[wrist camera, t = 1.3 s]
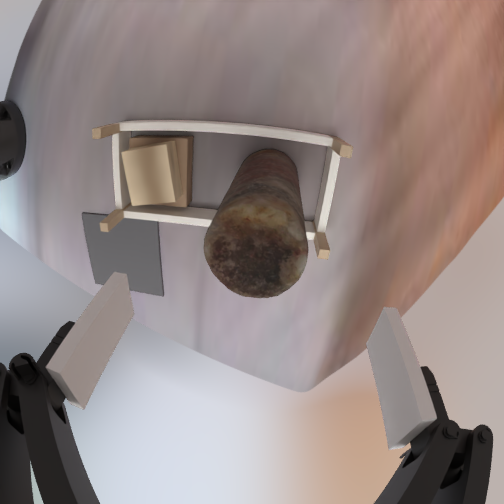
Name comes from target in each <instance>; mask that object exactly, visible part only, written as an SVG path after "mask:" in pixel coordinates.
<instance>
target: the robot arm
mask: <svg viewBox="0 0 504 504" xmlns="http://www.w3.org/2000/svg"><path fill="white" fill-rule="evenodd" d="M25 143H26V136H25V126H24V121H23V118H22V115H21V113H20V111H19V109H18V108H17V106H16V105H15V104H14V103H12V102H10V101H1V102H0V180H3V179H6V178H8V177H10V176H12V175H13V174H15V173H16V172H17V170H18V169H19V167H20V165H21V163H22V160H23V157H24V152H25ZM133 316H134V310H133V305H132V300H131V295H130V290H129V284H128V279H127V274H124V273H118V272H114V273H113V274H112V275H111V276H110V278H109V279H108V280H107V281H106V283H105V284H104V285H103V287H102V288H101V289H100V290H99V292H98V293H97V294H96V296H95V297H94V298H93V300H92V301H91V302H90V304H89V305H88V306H87V308H86V309H85V310H84V312H83V313H82V315H81V316H80V317H79V319H78V320H77V322H76V323H75V322H71V321H69V322H67V323H66V324H65V325H63V326H62V327H61V328H60V329H59V331H58V332H57V334H56V336H55V337H54V338H53V339H52V341H51V343H49V345H48V346H47V348H46V349H45V351H44V352H43V354H42V355H41V357H40V358H39V360H38V361H37V363H36V362H35V360H34V359H33V357H32V356H31V355H30V354H27V353H20V354H18V355H16V356H15V357H13V359H12V360H11V362H10V363H9V369H10V370H7V369H6V367H5V366H4V365H3V364H2V363H0V504H34V501H33V493H32V483H31V470H30V461H31V465H32V468H33V472H34V475H35V479H36V482H37V485H38V488H39V491H40V494H41V497H42V500H43V503H44V504H100V502H99V500H98V498H97V496H96V494H95V492H94V490H93V487H92V485H91V483H90V480H89V478H88V475H87V473H86V470H85V468H84V465H83V463H82V460H81V457H80V455H79V451H78V449H77V446H76V443H75V440H74V437H73V433H72V430H71V426H70V423H69V419H68V416H67V412H66V408H65V405H64V403H63V402H64V400H65V398H67V400H68V401H69V403H70V404H71V405H74V406H76V407H78V408H81V409H83V410H84V409H85V407H86V405H87V403H88V401H89V398H90V396H91V395H92V393H93V391H94V388H95V386H96V384H97V383H98V381H99V379H100V376H101V375H102V372H103V371H104V369H105V367H106V365H107V363H108V361H109V359H110V357H111V355H112V353H113V352H114V350H115V348H116V346H117V344H118V342H119V340H120V339H121V337H122V335H123V333H124V332H125V330H126V328H127V326H128V324H129V323H130V321H131V319H132V317H133ZM366 345H367V349H368V353H369V357H370V361H371V365H372V369H373V373H374V378H375V382H376V386H377V391H378V395H379V400H380V405H381V410H382V414H383V420H384V425H385V431H386V436H387V442H388V448H389V450H391V449H398V448H403V447H405V446H406V445H407V444H408V443H410V444H411V448H410V449H409V450H407V451H406V452H405V453H404V454H402V456H400V458H403V457H404V456H405V457H404V459H403V461H402V462H401V464H400V466H399V467H398V469H397V470H396V472H395V474H394V475H393V477H392V478H391V480H390V481H389V483H388V485H387V486H386V487H385V489H384V490H383V492H382V493H381V495H380V496H379V497H378V499H377V500H376V502H375V503H374V504H485V501H486V496H487V490H488V484H489V477H490V470H491V461H492V448H493V434H492V431H491V429H490V428H488V426H485V425H479V426H477V427H476V428H475V429H474V430H468V429H461V428H459V426H458V424H457V423H456V422H454V421H452V420H449V418H448V416H447V412H446V409H445V406H444V403H443V400H442V397H441V394H440V393H439V389H438V386H437V385H436V380H435V378H434V375H433V373H432V372H431V371H430V370H429V368H428V367H427V366H424V367H420V365H419V362H418V359H417V357H416V354H415V351H414V349H413V346H412V344H411V341H410V339H409V336H408V334H407V331H406V329H405V327H404V324H403V322H402V320H401V317H400V315H399V313H398V310H397V308H391V307H384V308H383V310H382V312H381V315H380V317H379V319H378V321H377V323H376V325H375V327H374V329H373V331H372V333H371V335H370V337H369V339H368V341H367V343H366Z"/></svg>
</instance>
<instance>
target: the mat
mask: <svg viewBox="0 0 504 504" xmlns="http://www.w3.org/2000/svg"><path fill="white" fill-rule="evenodd" d="M107 216H108V215H104V214H93V213H82V219H83V225H84V231H85V237H86V242H87V247H88V252H89V257H90V262H91V266H92V271H93V275H94V279H95V283H96V284H101V285H104V284H105V283H106V281H107V280H108V279H109V278H110V276H111V275H112V274H113V273H114V272H118V273H124V274H127V279H128V284H129V290H131V291H136V292H141V293H147V294H152V295H158V296H164V290H163V280H162V269H161V257H160V243H159V227H158V221H151V220H142V219H132V218H123V219H122V220H121V221H120V222H119V223H118V224H117V225H116V226H115V227H113V228H112V229H111V230H110V231H109V232H103V231H101V229H100V222H101V221H102V220H103V219H105V218H106V217H107Z"/></svg>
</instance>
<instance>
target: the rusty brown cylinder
mask: <svg viewBox="0 0 504 504" xmlns="http://www.w3.org/2000/svg"><path fill="white" fill-rule="evenodd" d="M204 254H205V258H206V260H207V263H208V264H209V266H210V269H211V271H212V272H213V274H214V275H215V276H216V277H217V278H218V279H219V280H220V282H222V283H223V284H224V285H225V286H226V287H227V288H228V289H230V290H231V291H233V292H235V293H237V294H239V295H241V296H245V297H254V298H269V297H273V296H278V295H280V294H281V293H283V292H284V291H286V290H288V289H289V288H290V287H292V286H293V285H294V284H295V283H296V282H297V281H298V280H299V278H300V277H301V275H302V273H303V271H304V269H305V266H306V263H307V257H308V242H307V236H306V228H305V222H304V214H303V209H302V202H301V195H300V187H299V180H298V174H297V169H296V166H295V164H294V163H293V162H292V160H291V159H290V158H289V157H288V156H287V155H286V154H284V153H283V152H280V151H277V150H273V149H265V150H261V151H258V152H255V153H253V154H252V155H250V156H249V157H247V158H246V159H245V160H244V162H243V164H242V165H241V167H240V169H239V170H238V172H237V174H236V176H235V178H234V180H233V182H232V184H231V186H230V188H229V190H228V191H227V193H226V195H225V197H224V199H223V201H222V203H221V205H220V207H219V209H218V211H217V212H216V214H215V216H214V218H213V220H212V222H211V224H210V226H209V228H208V230H207V233H206V236H205V238H204Z"/></svg>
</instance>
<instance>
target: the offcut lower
mask: <svg viewBox="0 0 504 504" xmlns="http://www.w3.org/2000/svg"><path fill="white" fill-rule="evenodd" d="M169 141H175V144H176V151H177V158H178V165H179V172H180V178H181V185H182V191H183V195H182V196H181V197H180V198H179V199H178V200H177V201H176V202H170V203H159V204H153V205H165V206H176V207H187V206H188V205H189V204H190V202H191V201H192V162H193V136H175V135H138V136H135V137H132V138H129V149H131V148H134V147H139V146H144V145H150V144H156V143H162V142H169Z"/></svg>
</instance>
